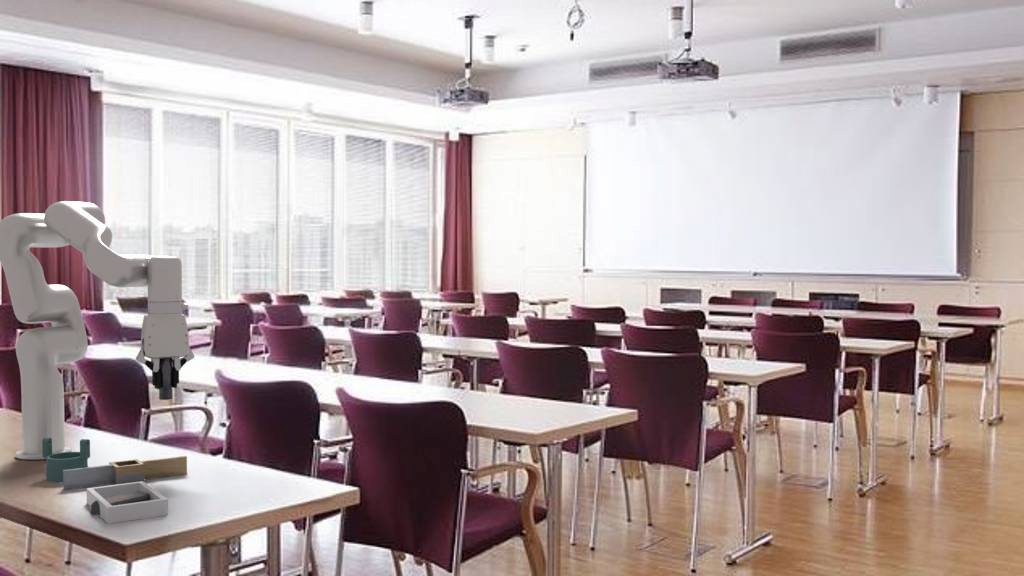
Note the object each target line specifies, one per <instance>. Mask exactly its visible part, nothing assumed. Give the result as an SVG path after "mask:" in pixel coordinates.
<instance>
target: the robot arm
mask: <svg viewBox="0 0 1024 576" xmlns="http://www.w3.org/2000/svg"><path fill="white" fill-rule="evenodd" d="M112 240H113V232H112V230H111V229H110V227H108V225H106V216H105V214H104V212H103V210H102V209H101V208H100V207H99V206H98V205H96V204H95V203H92V202H86V201H73V200H72V201H70V200H68V201H67V200H64V201H63V200H62V201H61V200H60V201H57V202H54V203H52V204H50V205H49V206H48V207H47V208H46V209H45V212H44V213H36V212H35V213H33V212H22V213H21V212H19V213H13V214H10V215H7V216H5V217H4V218H3V219H1V220H0V264H1V266H2V269H3V271H4V275H5V279H6V284H7V289H8V293H9V296H10V302H11V304H12V305H11V306H12V309H13V313H14V315H15V317H16V319H17V320H18V321H19V322H20V323H23V324H33V325H34V324H44V323H45V324H46V323H50V324H51V326H46V327H45V326H44V327H36V328H31V329H28V330H26V331H23V333H22V334H20V335H19V337H18V338H17V340H16V343H15V354H16V359H17V363H18V366H19V373H20V374H19V375H20V388H21V389H20V392H21V430H22V431H21V433H22V434H21V435H22V436H21V437H22V441H21V442H22V449H19V450H17V451H15V458H17V459H19V460H26V461H27V460H28V461H30V460H32V461H33V460H35V461H37V460H39V461H40V460H46V459H45V458H44V457H43V450H42V440H43V438H51V439H52V454H55V453H61V452H73V450H72V447H70V446H69V445H68V446H67V445H66V443H65V437H66V436H65V435H66V433H65V432H66V431H65V388H64V387H65V386H64V381H63V377H62V375H61V373H60V371H59V370H58V366H57V365H62V364H63V365H64V364H69V363H75V362H76V363H77V362H78V361H81V360H82V359H83V358H84V356H85V355H86V353H87V351H88V346H89V345H88V342H89V341H88V335H87V332H86V327H85V323H84V318H83V315H82V310H81V306H80V302H79V300H78V297H77V295H76V294H75V291H73V290H72V289H71V288H70V287H68V286H66V285H64V284H48V283H47V281H46V278H45V274H44V269H43V267H42V265H41V263H40V261H39V259H38V258H37V257H36V256H35V255H34V254H33V253H32V252H31V251H30V249H31V248H41V249H42V248H62V247H63V248H64V247H66V246H72V247H73V248H74V249H76V250H77V251H79V252H80V253H81V254H82V258H83V260H84V263H85V265H86V268H87V269H88V270H89V271H90V273H92V274H93V275H95V276H96V277H97V278H99V279H100V280H102V281H103V282H104V283H106V284H107V285H109V286H111V287H115V288H122V289H123V288H141V287H142V288H145V287H147V314H145V315H143V319H142V325H141V336H140V350H139V352H138V353H137V355H136V358H135V362H138V363H140V364H141V365H142V364H143V365H145V366H146V367H147V368H148V369H149V370H150V371H152V372H151V378H152V379H151V380H152V381H151V383H152V386H153V387H154V389H156V390H159V389H161V372H159V360H160V358H172V378H173V389H176V388H178V384H180V371H181V369H182V368H183V366H185V365H186V364H187V363H188V362H189V361H191V360H193V359H194V358H195V354H194V353H193V351H192V350H191V348H190V347H191V346H190V341H189V340H190V339H189V330H188V325H187V319H186V315H185V314H183V313H184V311H185V310H188V309H189V304H188V303H185V302H183V289H182V288H183V280H182V277H183V275H182V274H183V271H182V269H183V267H182V264H183V263H182V260H181V258H179V257H178V256H174V255H172V256H171V255H157V256H156V255H151V254H119V253H118V252H115V251H114V250H113V249H111V248H110V246H111V244H112ZM145 357H146V358H147V359H146V358H145ZM148 359H150V360H148Z"/></svg>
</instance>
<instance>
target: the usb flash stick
mask: <svg viewBox="0 0 1024 576" xmlns="http://www.w3.org/2000/svg"><path fill="white" fill-rule="evenodd" d="M105 500H106V501H107V502H108V503H110V504H111V505H112V506H114V505H121V504H129V503H136V502H143V501H150V496H149V494H148V493H146V492H142V491H136V492H133V493H128V494H124V495H119V496H114V497H110V498H105ZM90 514H92V515H96V516H99V517H101V516H100V506H99V503H98V501H94V502H93V503H92V505H91V507H90Z"/></svg>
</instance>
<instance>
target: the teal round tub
mask: <svg viewBox="0 0 1024 576" xmlns="http://www.w3.org/2000/svg"><path fill="white" fill-rule="evenodd" d="M42 450H43V457H44V458H45V459H44V460H45V471H46V472H45V473H46V474H45V475H46V476H45V477H46V478H45V480H46V481H47V482H49V483H63V470H69V469H77V468H86V467H89V466H88V465H89V464H88V461H89V460H88V459H90V458H91V441H90V439H87V438H86V439H85V438H84V439H83V438H81V439H80V441H79V451H72V452H61V453H55V454H52V439H51V438H43V440H42Z"/></svg>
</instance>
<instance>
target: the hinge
mask: <svg viewBox="0 0 1024 576" xmlns="http://www.w3.org/2000/svg"><path fill="white" fill-rule="evenodd" d="M187 459H188V457H187V455H182V456H173V457H164V458H163V457H162V458H155V459H147V460H139V459H137V458H136V459H126V460H120V461H119V460H118V461H110V462H109V463H108V464H105V465H97V466H88V467H86V468H77V469H69V470H63V482H62V489H63V490H73V489H80V488H90V487H98V486H106V485H117V484H125V483H132V482H140V481H143V482H145V483H146V481H145V480H150V479H157V478H158V479H159V478H166V477H172V476H173V477H174V476H181V475H188V462H187V461H188V460H187Z"/></svg>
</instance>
